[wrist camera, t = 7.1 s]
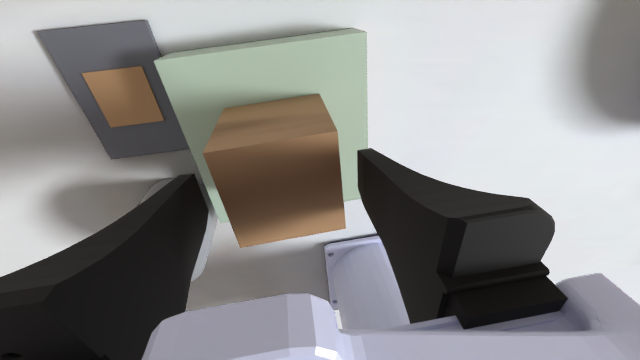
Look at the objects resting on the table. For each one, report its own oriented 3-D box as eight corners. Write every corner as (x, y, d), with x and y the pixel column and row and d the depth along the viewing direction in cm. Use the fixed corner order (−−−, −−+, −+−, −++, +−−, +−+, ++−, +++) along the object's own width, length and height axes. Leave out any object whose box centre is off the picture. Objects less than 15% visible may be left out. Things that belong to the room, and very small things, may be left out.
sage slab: (357, 174, 21) (368, 197, 19) (226, 196, 21) (220, 222, 18) (351, 27, 16) (366, 32, 13) (173, 51, 15) (153, 61, 13)
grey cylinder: (224, 230, 22) (212, 283, 17) (156, 234, 21) (126, 292, 17) (213, 175, 19) (196, 224, 15) (134, 179, 18) (93, 231, 14)
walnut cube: (328, 173, 17) (345, 228, 13) (248, 187, 17) (240, 247, 13) (319, 93, 14) (337, 130, 10) (223, 108, 14) (202, 153, 10)
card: (194, 146, 18) (193, 148, 17) (113, 157, 17) (110, 160, 17) (147, 19, 14) (144, 20, 13) (41, 30, 13) (35, 31, 13)
